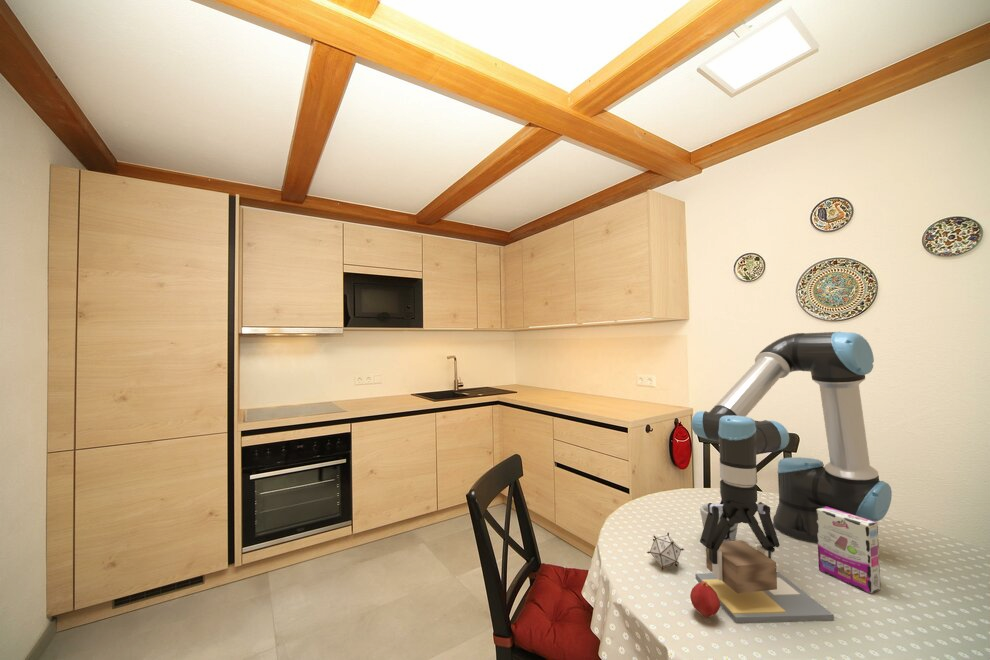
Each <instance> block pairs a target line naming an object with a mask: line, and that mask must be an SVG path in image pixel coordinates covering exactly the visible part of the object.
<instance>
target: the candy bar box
mask: <svg viewBox="0 0 990 660" xmlns="http://www.w3.org/2000/svg"><path fill="white" fill-rule="evenodd" d="M816 512H817V536H818V543H817V555H818V560H817V561H818V571H820V572H822V573H823V574H826V575H828V576H831V577H833V578H835V579H836V580H839V581H841V582H844V583H846V584H848V585H851V586H853V587H854V586H855V588H857V589H859V590H862V591H864V592H866V593H867V594H870V595H871V594H873V593H876V592H878V591H880V590H881V589H882V587H881V586H882V585H881V583H882V582H881V567H880V563H881V562H880V546H879V527H878V525H879V524H878V521H877V522H874V521H871V520H868V519H865V518H862V517H858V516H855V515H852V514H849V513H846V512H843V511H839V510H836V509H833V508H830V507H827V506H826V507H822V508H819V509H816Z"/></svg>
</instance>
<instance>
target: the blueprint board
mask: <svg viewBox="0 0 990 660" xmlns="http://www.w3.org/2000/svg"><path fill="white" fill-rule="evenodd" d="M694 576H695V580H696V581H697V582H698V583H701V582H703V581H707V584H708V585H709V586H711V587H712V588H713V589H714V591H715V592H716V593H717V595H718V598H719V601H720V608H722V610H723V611H724V612H725V613H727V616H729V618H730V619H732V621H733V622H735V624H748V623H751V624H752V623H782V622H783V623H785V622H787V623H789V622H819V621H821V622H822V621H823V622H824V621H835V617H834V614H833V613H832V612H830V610H828V609H827V608H826V607H824V606H823V605H822V604H821V603H819V602H818V601H816V600H815V599H814V598H813V597H812V596H810V595H809V594H807V593H806V592H805V591H804V590H802V589H801V588H800V587H798V586H797V585H796V584H795V583H794V582H792V581H791V580H790V579H788V578H787V577H786V576H785V575H783V574H782V573H781V572H779V571H777V589H776V590H767V591H757V592H747V593H736V592H735V591H734V590H733V589H731V588H730V587H729V586H728V585H727V584H725V583H724V582H723V581H722V580H718V579H717V578H716V577H715V576H714V575H713V574H712V572H710V573H704V572H703V573H695V575H694Z"/></svg>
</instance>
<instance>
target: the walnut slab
mask: <svg viewBox="0 0 990 660" xmlns="http://www.w3.org/2000/svg"><path fill="white" fill-rule="evenodd" d="M705 550H706V551H705V554H706V555H705V557H706V558H705V560H706V563H705V565H706V569H707V570H709V571H710V573H712V562H711V561H710V560H709V549H708V548H706V547H705ZM719 550H720V551H721V552H722V581H723V582H724V583H725V584H727V585H728V586H729V587H730V588H731V589H733V590H734V591H735V592H736V593H747V592H757V591H767V590H776V589H777V572H778V571H777V562H776V561H774V560H773V559H772V558H771V559H770V558H769V557H767V556H766V555H764V554H763V553H761V552H759V551H758V550H757V548H755V547H753V546H752V545H750V544H749V543H747V542H745V541H744V540H735V541H727V542H722V544H721V546H720V548H719Z"/></svg>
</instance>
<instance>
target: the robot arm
mask: <svg viewBox="0 0 990 660" xmlns="http://www.w3.org/2000/svg"><path fill="white" fill-rule="evenodd" d="M874 361H875V358H874V354H873V349H872V347H871V344H869V342H868V340H867V339H866V338H865V337H864V336H863V335H861V334H859V333H856V332H842V331H832V332H831V331H829V332H828V331H827V332H807V333H805V332H800V333H799V332H797V333H791V334H789V335H786V336H785V335H784V336H783V337H780V338H778V339H777V340H775V341H772V343H770V344H768V345H767V346H765V347H764V348H763V349H762V350H761V351H760V352H759V353H758V354H757V355H756V356H755V359H754V364H753V365H752V366H751V367H749V369H748V370H747V371H746V372H745V373H744V374H743V375H742V376H741V377H740V378H739V379H738V381H737V382H736V383H735V384H734V385H733V386H732V387H731V388H730V389H729V390H728V391H727V392H726V393H725V395H724V396H722V398H720V400H719V401H718V402H717V403H716V404H715V405H714V406H713V408H712V409H710V410H709V411H707V410H705V411H704V410H702V411H696V413H694V415H693V416H692V419H691V429H692V431H693V433H694V434H695V435H696V436H698V437H700V438H703V439H706V440H708V441H712V442H713V441H714V442H718V445H719V446H718V447H719V474H720V475H719V478H720V481H719V488H720V489H719V492H720V493H719V494H720V498H721V501H720V502H719V503H715V504H716V505H713V504H714V503H712V502H709V503H707V504H708V515H707V518H706V522H705V525H704V528H703V530H702V533H701V535H700V539H699V541H700V543H701V545H703V546H704V547H705V549H706V548H708V549H709V560H710V561H711V562H712V572H711V573H712V574H713V575H714V576H715V577H716V578H717V579H718V580H722V552H721V551H720V550H719V548H720V546H721V544H722V542H723V541H724V539H725V537H726V535H727V533H728V532H729V530H730V528H731V527H733V526H734V524H735V523H738V524H741V523H743V524H747V525H748V526H749V528H750V529H751V531H752V533H753V534H754V536H755V537H756V539H757V541H758V542H759V544H757V545H756V550H758V551H759V552H761V553H763V554H764V555H766V556H767V557H769V558H770V559H772V553H774V552H775V550H776V549H775V548H779V547H780V545H781V544H780V541H779V539H778V535H777V533H776V530H777V531H778V532H780V533H782V534H784V535H785V536H788V537H789V538H793V539H797V540H800V541H804V542H808V543H815V544H816V543H817V544H818V536H817V512H816V509H819V508H822V507H826V506H827V507H830V508H833V509H836V510H839V511H843V512H846V513H849V514H852V515H855V516H858V517H862V518H865V519H868V520H871V521H874V522H877V523H878V522H880V521H881V520H883V519H884V517H885V516H886V515H887V513H888V511H889V508H890V506H891V502H892V497H893V495H892V492H893V491H892V488H891V485H890V484H889V483H888V482H885V481H884V480H880V476H879V471H878V470H877V469H875V468H874V467H873V466H871V463H870V457H869V448H868V441H867V434H866V428H865V421H864V412H863V405H862V399H861V390H860V384H861V383H862V382H863V381H865V380H866V375H868V374H870V373H871V372H872V370H873V369H874ZM799 371H800V372H810V375H811V380H812V381H813V382H814V383H816V384H818V386H819V391H820V399H821V406H822V412H823V414H822V415H823V420H824V427H825V434H826V435H825V436H826V439H827V440H826V441H827V448H828V455H829V456H828V457H829V462H828V463H826V464H824V462H823V461H822V460H820V459H817V458H811V457H784V458H781V459H780V460H779V461H778V465H777V482H778V505H777V507H776V510H775V513H774V516H773V518H772V516H771V507H770V506H769V505H767V504H765V503H763V502H762V501H759V502H758V486H757V484H758V475H757V474H758V473H757V472H758V470H757V469H758V468H757V456H758V455H760V454H763V455H764V454H767V453H776V452H778V451H780V450H783V449H785V448H787V446H789V443H790V435H789V432H788V429H787V428H786V427H785V426H784V425H783V424H781V423H780V422H778V421H775V420H767V419H764V420H755V419H754V418H752V417H748V416H747V415H749V413H750V412H752V410H753V409H754V408H755V407H756V406H757V405H758V403H759V402H760V401H761V400H762V399H763V398H764V397H765V395H767V394H768V392H769V391H770V390H771V389H772V387H773V386H775V384H776V383H777V382H778V381H779V379H783V378H784V379H785V377H787V376H788V375H789V374H790V373H792V372H793V373H794V372H799ZM757 502H758V503H757ZM721 510H722V511H723V513H722V515H721V513H720V512H721ZM756 513H758V516H759V520H760V522H761V526H762V528H763V529H762V528H761V526H760V525H759V522H758V520H757V518H756V517H755V514H756ZM719 515H721V516H720V521H719V523H718V520H719ZM727 518H728V519H729V521H728V520H727ZM717 523H718V525H717Z"/></svg>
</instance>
